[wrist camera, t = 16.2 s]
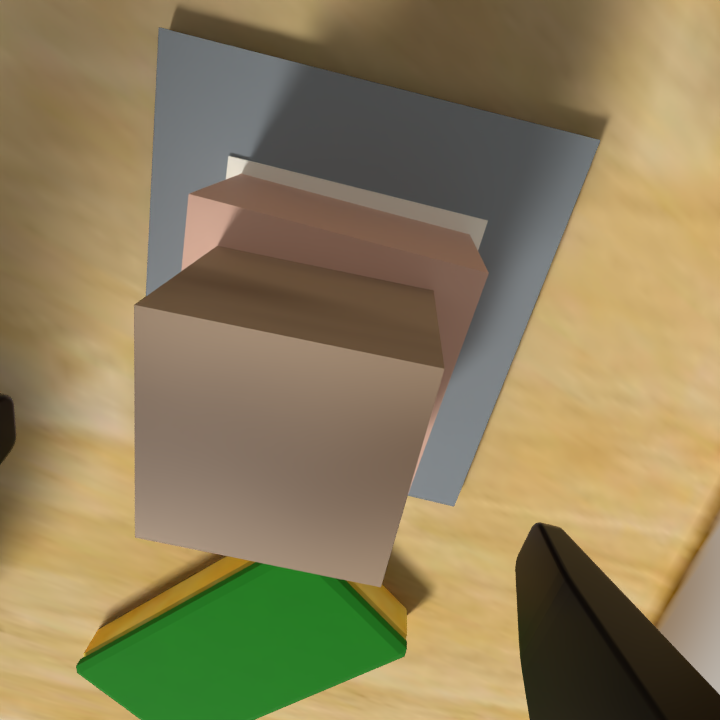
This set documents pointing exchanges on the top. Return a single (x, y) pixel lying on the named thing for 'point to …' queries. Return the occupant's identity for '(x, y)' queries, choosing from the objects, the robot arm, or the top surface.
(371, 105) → the slate mat
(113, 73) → the top surface
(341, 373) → the walnut cube
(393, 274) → the pink square block
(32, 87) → the top surface
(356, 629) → the dish sponge
